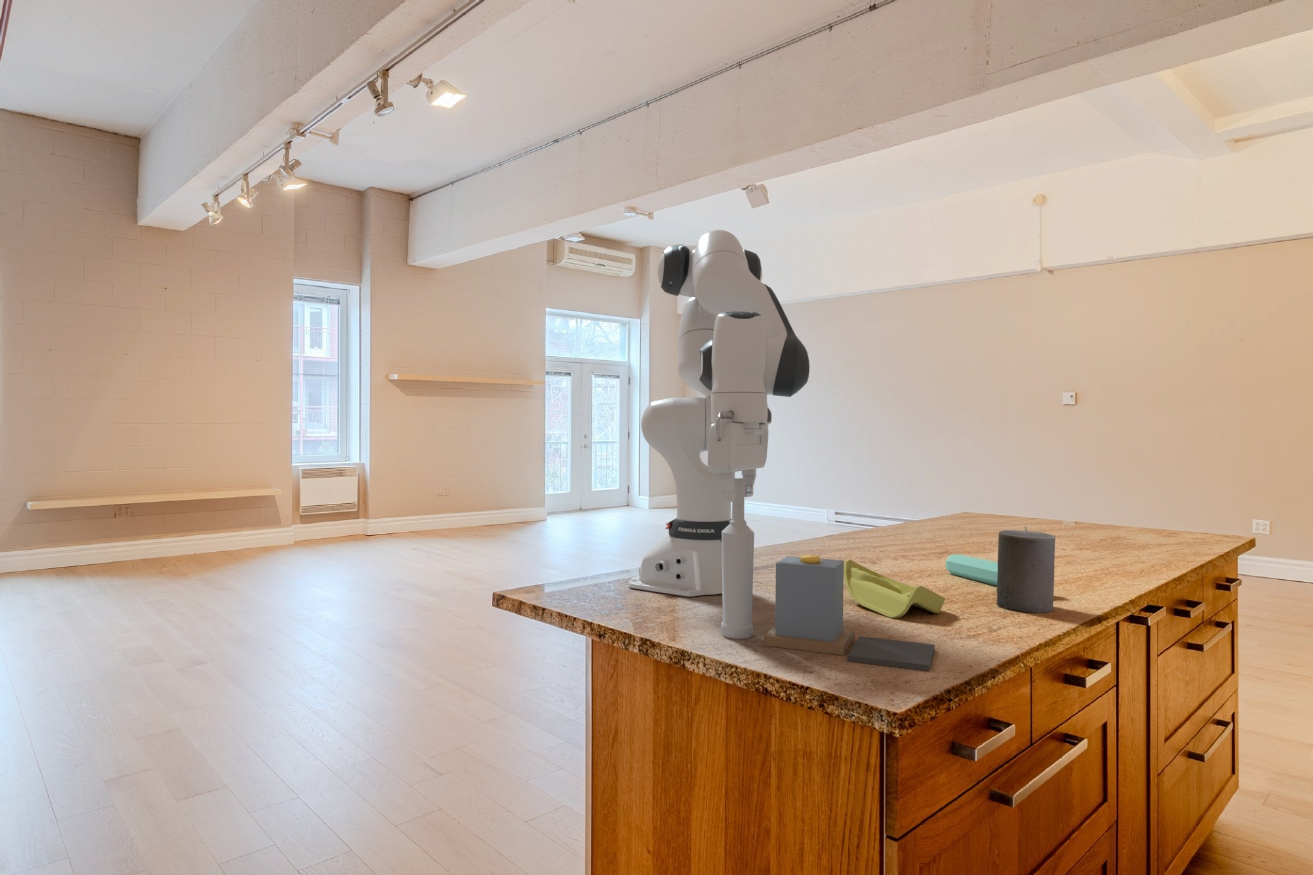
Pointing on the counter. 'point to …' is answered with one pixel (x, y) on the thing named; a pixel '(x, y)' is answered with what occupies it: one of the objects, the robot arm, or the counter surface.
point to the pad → (892, 653)
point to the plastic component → (887, 592)
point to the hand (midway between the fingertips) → (738, 499)
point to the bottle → (737, 571)
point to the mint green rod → (973, 568)
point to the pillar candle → (1025, 571)
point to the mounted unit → (810, 606)
